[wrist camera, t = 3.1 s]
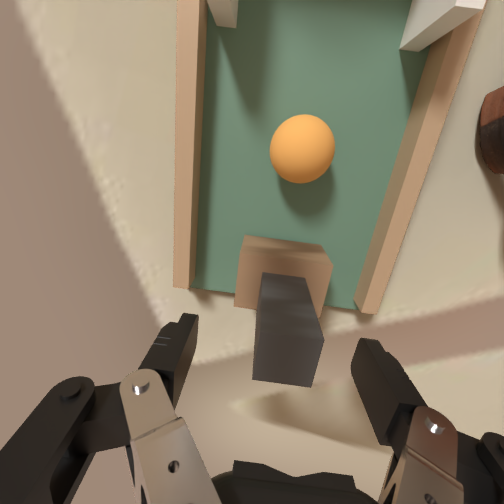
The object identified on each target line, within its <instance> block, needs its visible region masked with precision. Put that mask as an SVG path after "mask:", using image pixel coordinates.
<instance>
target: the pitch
mask: <svg viewBox="0 0 504 504" xmlns="http://www.w3.org/2000/svg"><path fill="white" fill-rule="evenodd" d="M486 3H487V0H177V43H176V117H175V191H174V265H173V287H176V288H183V289H189V287H192V288H199V289H206V290H214V291H221V292H229V293H235V290H236V281H237V273H238V264H239V255H240V250H241V246H242V243H243V239H244V235H251V236H259V237H266V238H274V239H281V240H289V241H296V242H304V243H311V244H319V245H321V246H322V247H323V249H324V251H325V252H326V254H327V256H328V257H329V259H330V261H331V262H332V264H333V269H332V273H331V277H330V281H329V285H328V289H327V292H326V296H325V300H324V304H323V305H325V306H333V307H340V308H347V309H355V310H360V311H361V313H369V314H377V312H378V309H379V306H380V303H381V300H382V297H383V295H384V292H385V289H386V286H387V283H388V280H389V278H390V275H391V272H392V269H393V266H394V263H395V261H396V258H397V255H398V252H399V249H400V246H401V244H402V241H403V238H404V235H405V232H406V229H407V227H408V224H409V221H410V218H411V215H412V212H413V210H414V207H415V204H416V201H417V198H418V196H419V193H420V190H421V187H422V184H423V181H424V179H425V176H426V173H427V170H428V167H429V164H430V162H431V159H432V156H433V153H434V150H435V147H436V145H437V142H438V139H439V136H440V133H441V130H442V128H443V125H444V122H445V119H446V116H447V113H448V111H449V108H450V105H451V102H452V99H453V96H454V94H455V91H456V88H457V85H458V82H459V79H460V77H461V74H462V71H463V68H464V65H465V63H466V60H467V57H468V54H469V51H470V48H471V46H472V43H473V40H474V37H475V34H476V31H477V29H478V26H479V23H480V20H481V17H482V14H483V12H484V9H485V6H486ZM303 114H306V115H313V116H315V117H318V118H320V119H321V120H323V121H324V122H325V123H326V124H327V125H328V126H329V128H330V129H331V131H332V134H333V136H334V140H335V153H334V157H333V160H332V162H331V164H330V166H329V168H328V169H327V170H326V171H325V173H324V174H322V175H321V176H320V177H319V178H317V179H315V180H313V181H311V182H308V183H292V182H290V181H287V180H285V179H284V178H282V177H281V176H280V175H279V174H278V173H277V172H276V171H275V169H274V167H273V165H272V163H271V159H270V144H271V140H272V137H273V135H274V133H275V131H276V130H277V128H278V127H279V126H280V125H281V124H282V123H283V122H284V121H286V120H287V119H289V118H291V117H294V116H297V115H303Z"/></svg>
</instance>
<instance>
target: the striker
mask: <svg viewBox="0 0 504 504" xmlns="http://www.w3.org/2000/svg"><path fill="white" fill-rule="evenodd" d="M332 269H333V264H332V262H331V261H330V259H329V257H328V256H327V254H326V252H325V251H324V249H323V247H322V246H321V245H319V244H311V243H304V242H296V241H289V240H281V239H274V238H266V237H259V236H251V235H244V239H243V243H242V246H241V250H240V255H239V264H238V273H237V281H236V290H235V299H234V307H241V308H248V309H256V310H257V313H256V329H255V345H254V361H253V377H252V379H253V380H259V381H267V382H274V383H281V384H288V385H296V386H303V387H310V388H311V386H312V383H313V379H314V375H315V371H316V368H317V365H318V360H319V357H320V354H321V350H322V347H323V343H324V337H323V334H322V331H321V328H320V325H319V321H318V318H320V316H321V312H322V308H323V304H324V300H325V296H326V292H327V289H328V285H329V281H330V277H331V273H332Z"/></svg>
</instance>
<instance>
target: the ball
mask: <svg viewBox="0 0 504 504" xmlns="http://www.w3.org/2000/svg"><path fill="white" fill-rule="evenodd" d="M334 153H335V140H334V136H333V134H332V131H331V129H330V128H329V126H328V125H327V124H326V123H325V122H324V121H323V120H321V119H320V118H318V117H315V116H313V115H306V114H303V115H297V116H294V117H291V118H289V119H287V120H286V121H284V122H283V123H282V124H281V125H280V126H279V127H278V128H277V130H276V131H275V133H274V135H273V137H272V140H271V144H270V159H271V163H272V165H273V167H274V169H275V171H276V172H277V173H278V174H279V175H280V176H281V177H282V178H284V179H285V180H287V181H290V182H292V183H308V182H311V181H313V180H315V179H317V178H319V177H320V176H321V175H322V174H324V173H325V171H326V170H327V169H328V168H329V166H330V164H331V162H332V160H333V157H334Z"/></svg>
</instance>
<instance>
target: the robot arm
mask: <svg viewBox="0 0 504 504" xmlns="http://www.w3.org/2000/svg"><path fill="white" fill-rule="evenodd" d="M198 320H199V316H198V315H195V314H188V313H183V314H182V316H181V318H180V320H179V322H178V323H175V322H169V323H168V324H167V325H165V326H164V327H163V328H162V329H161V331H160V332H159V334H158V336H157V338H156V339H155V341H154V343H153V345H152V346H151V348H150V349H149V351H148V353H147V355H146V356H145V358H144V360H143V361H142V363H141V365H140V367H139V368H138V370H136V371H134V372H132V373H130V374H128V375H127V376H126V377H125V378H124V379H123V380H122V382H119V383H115V384H109V385H102V386H94V382H93V381H92V380H91V379H90V378H87V377H81V376H79V377H72V378H69V379H66V380H64V381H62V382H61V383H58V384H57V385H56V386H54V387H53V388H52V389H51V390H50V391H49V392H48V394H47V395H46V396H45V397H44V398H43V400H42V401H41V402H40V403H39V405H38V406H37V407H36V408H35V409H34V411H33V412H32V413H31V414H30V415H29V417H28V418H27V419H26V420H25V421H24V423H23V424H22V425H21V426H20V427H19V429H18V430H17V431H16V432H15V434H14V435H13V436H12V437H11V439H10V440H9V441H8V442H7V443H6V445H5V446H4V447H3V448H2V449H1V451H0V504H70V503H71V501H72V499H73V497H74V495H75V493H76V491H77V489H78V487H79V485H80V483H81V481H82V479H83V477H84V475H85V473H86V471H87V469H88V467H89V465H90V463H91V461H92V459H93V457H94V455H95V453H96V452H99V451H104V450H108V449H113V448H118V447H122V446H124V450H125V454H126V459H127V463H128V468H129V472H130V477H131V482H132V487H133V491H134V496H135V502H136V504H504V436H502V435H499V434H497V433H493V432H487V433H485V434H484V435H483V436H482V438H481V439H480V440H479V439H476V438H474V437H471V436H469V435H466V434H464V433H461V432H459V431H456V429H455V427H454V426H453V424H452V423H451V422H450V421H449V420H448V419H447V418H446V417H445V416H444V415H442V414H441V413H440V412H438V411H436V410H434V409H432V408H430V407H428V406H427V404H426V403H425V401H424V400H423V398H422V397H421V395H420V394H419V392H418V391H417V389H416V387H415V386H414V384H413V383H412V381H411V380H409V377H408V375H407V374H406V372H404V369H403V368H402V366H401V365H400V363H399V362H398V360H397V359H395V358H394V357H393V356H392V355H391V354H390V353H389V352H385V350H384V349H383V347H382V346H381V344H380V342H379V341H378V340H374V339H367V338H360V340H359V342H358V344H357V347H356V350H355V353H354V356H353V359H352V362H351V374H352V377H353V379H354V382H355V384H356V387H357V389H358V392H359V394H360V397H361V399H362V402H363V404H364V407H365V409H366V412H367V414H368V417H369V419H370V422H371V424H372V427H373V429H374V432H375V434H376V437H377V439H378V442H379V444H380V445H386V446H392V449H393V451H394V452H393V454H392V456H391V459H390V462H389V466H388V469H387V473H386V477H385V480H384V483H383V487H382V490H381V494H380V497H379V500H378V502H377V501H375V500H374V499H373V498H371V497H370V496H369V495H367V494H366V493H364V492H362V491H360V490H359V489H356V487H355V483H354V479H353V476H349V475H342V474H335V473H327V472H321V473H316V474H310V475H305V476H300V477H292V476H290V475H287V474H285V473H283V472H280V471H278V470H276V469H273V468H271V467H269V466H267V465H264V464H259V463H251V462H243V461H236V460H234V464H233V470H232V471H229V472H225V473H222V474H219V475H217V476H215V477H213V478H212V479H211V478H210V477H209V474H208V472H207V469H206V467H205V465H204V463H203V460H202V458H201V456H200V454H199V451H198V449H197V447H196V444H195V442H194V440H193V438H192V435H191V433H190V431H189V429H188V426H187V424H186V422H185V420H184V419H183V418H182V417H179V418H178V417H177V415H176V414H175V408H176V405H177V402H178V399H179V397H180V394H181V390H182V388H183V385H184V382H185V379H186V376H187V373H188V370H189V368H190V365H191V362H192V359H193V356H194V353H195V349H196V344H197V334H198Z"/></svg>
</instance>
